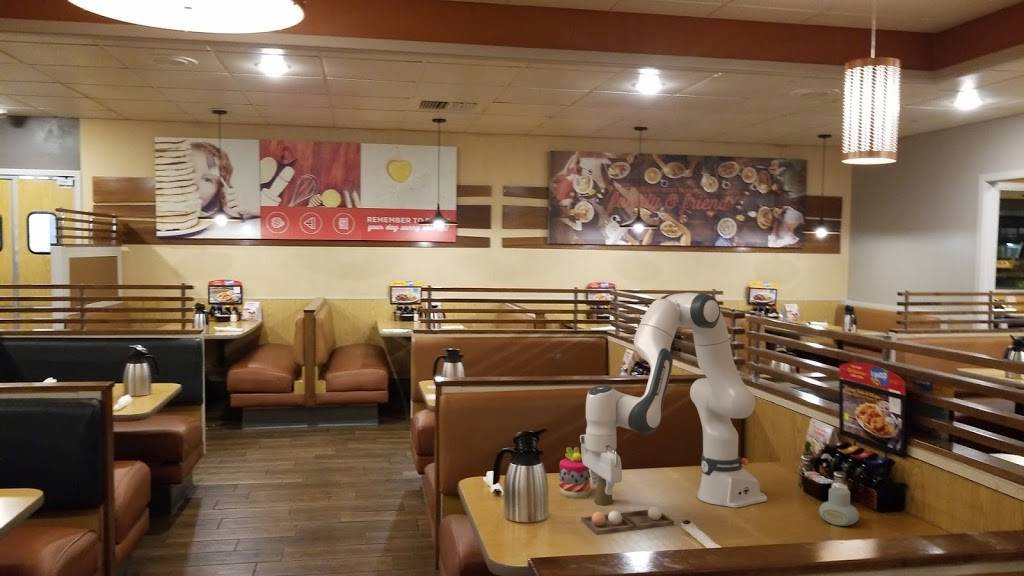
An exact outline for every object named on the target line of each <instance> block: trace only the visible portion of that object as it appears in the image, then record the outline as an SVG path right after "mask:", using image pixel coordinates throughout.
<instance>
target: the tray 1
mask: <svg viewBox="0 0 1024 576" xmlns="http://www.w3.org/2000/svg"><path fill="white" fill-rule="evenodd" d="M603 514H604V513H603ZM604 515H605V518H606V520H605V523H604V524H603V525H602V526H596V525H594V523H593V522H592V516H593V515H588V516H580V522H581V523H582V524H583V525H584V526H586V527H587V528H588V529H589V530H590V531H591V532H592V533H593V534H595V535H598V536H599V535H604V534H605V535H606V534H614V533H621V532H629V531H635V528H634V525H633V524H631V523H630V522H629V521H627V520H626V519H625V518H623V517H622V520H621V522H620V523H619V524H618V525H613V524H611V523H610V522H609V520H608V515H609V513H605V514H604Z"/></svg>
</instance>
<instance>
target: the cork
mask: <svg viewBox="0 0 1024 576" xmlns="http://www.w3.org/2000/svg"><path fill="white" fill-rule="evenodd" d="M597 478H598V479H599V481H598V482H599V483H598V484H597V485H596V488H595V495H594V501H593V502H594V504H596V505H598V506H601V507H602V506H603V507H604V506H605V507H607V506H611V505H613V503H614V501H613V494H612V495H607V494H606V493H605V487H606V485H607V483H606V480H605V479H604V478H602V477H601V476H599V475H598V474H597Z"/></svg>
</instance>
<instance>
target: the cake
mask: <svg viewBox="0 0 1024 576" xmlns="http://www.w3.org/2000/svg"><path fill="white" fill-rule="evenodd" d="M565 452H566V453H565V455H564V456H565V458H563V459H561V460H560V461H559V481H560V482H559V484H558V487H559V495H560V494H561V495H562V496H561V495H560V496H561V497H563V496H564V497H563V498H565V497H567V498H566V499H570V498H574V499H573V500H579V499H580V498H582V499H586V498H588V497H589V496H590V488H591V476H590V473H589V468H588V467H586V466H585V465H584V464H583V462H582V454H581V453H580V448H579V447H574V449H572V447H569V446H568V447H566V451H565ZM585 497H586V498H585Z"/></svg>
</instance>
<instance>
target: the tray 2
mask: <svg viewBox="0 0 1024 576" xmlns="http://www.w3.org/2000/svg"><path fill="white" fill-rule="evenodd" d="M649 509H650V508H648V509H641V510H640V509H639V510H634V511H633V510H632V511H622V512H619V513H620V514H621V516H622V517H623V518H625V519H626V520H627V521H629V522H630V523H631V524H633V525H634V529H636V530H637V531H638V530H646V529H647V530H648V529H654V528H655V529H656V528H662V527H663V528H664V527H672V526H675V521H674V520H673V519H672V518H671V517H669V516H668V515H666V514H665V513H663V512H661V517H660V519H658V520H652V519H650V518H649V516H648V510H649Z"/></svg>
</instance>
